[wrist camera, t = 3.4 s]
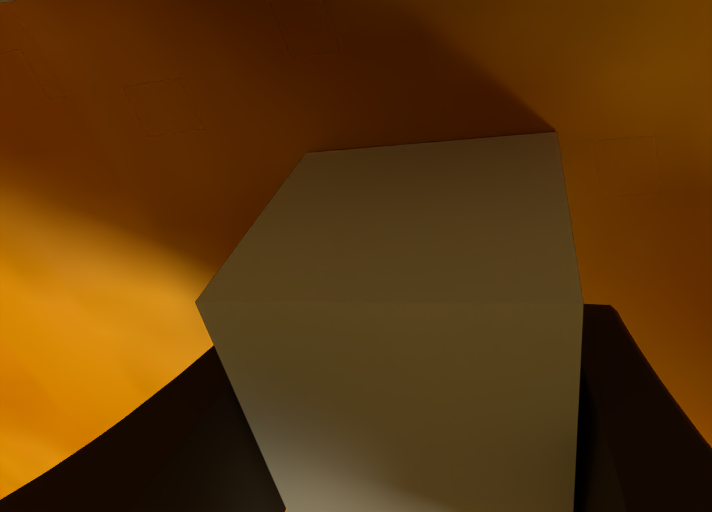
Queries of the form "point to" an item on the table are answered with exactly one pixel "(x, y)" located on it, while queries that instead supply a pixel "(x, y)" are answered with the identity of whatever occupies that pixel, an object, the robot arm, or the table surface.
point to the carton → (410, 329)
